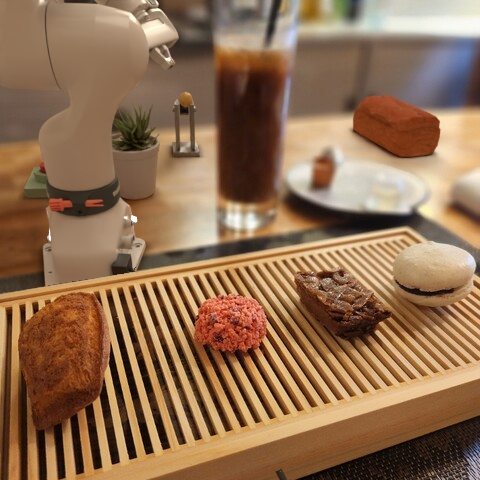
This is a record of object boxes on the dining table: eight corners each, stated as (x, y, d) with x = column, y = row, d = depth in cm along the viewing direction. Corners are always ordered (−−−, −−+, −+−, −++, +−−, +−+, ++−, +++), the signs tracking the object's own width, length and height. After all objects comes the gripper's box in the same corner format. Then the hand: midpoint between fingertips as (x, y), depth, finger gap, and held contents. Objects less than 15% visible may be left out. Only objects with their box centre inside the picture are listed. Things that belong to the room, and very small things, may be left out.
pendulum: (199, 156, 126) (198, 106, 118) (173, 156, 125) (170, 106, 117) (197, 145, 132) (196, 97, 124) (172, 146, 131) (169, 97, 123)
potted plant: (107, 208, 101) (92, 112, 88) (107, 182, 111) (94, 92, 98) (165, 205, 103) (159, 110, 90) (160, 179, 113) (154, 91, 100)
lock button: (58, 174, 105) (56, 167, 103) (39, 175, 104) (37, 167, 103) (60, 167, 108) (59, 160, 106) (42, 168, 107) (40, 160, 106)
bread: (386, 124, 153) (394, 90, 146) (440, 153, 135) (452, 115, 128) (346, 128, 148) (352, 93, 142) (396, 159, 130) (407, 120, 123)
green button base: (72, 196, 104) (69, 180, 102) (26, 198, 103) (21, 181, 100) (78, 175, 113) (75, 159, 111) (36, 176, 112) (31, 159, 109)
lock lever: (193, 105, 108) (192, 90, 107) (179, 105, 108) (178, 90, 107) (190, 116, 123) (189, 103, 122) (178, 116, 123) (177, 103, 122)
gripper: (109, 5, 92) (157, 66, 96) (158, -3, 107) (197, 49, 111) (93, 29, 96) (140, 87, 100) (143, 18, 111) (181, 68, 115)
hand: (170, 67), depth 105 cm, fingers closed
